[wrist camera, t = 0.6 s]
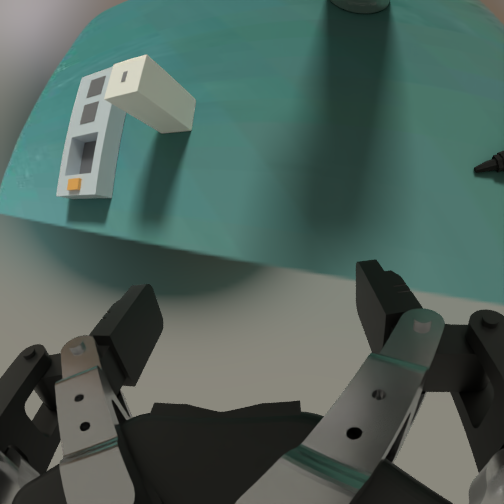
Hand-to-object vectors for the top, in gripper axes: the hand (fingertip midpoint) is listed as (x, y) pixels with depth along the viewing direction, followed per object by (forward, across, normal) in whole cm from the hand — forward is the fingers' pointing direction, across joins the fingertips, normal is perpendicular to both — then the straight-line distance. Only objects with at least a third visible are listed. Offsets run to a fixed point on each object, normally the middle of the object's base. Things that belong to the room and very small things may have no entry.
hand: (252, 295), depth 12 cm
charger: (+30, +10, -10) cm, 34 cm away
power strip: (+33, +24, -10) cm, 42 cm away
